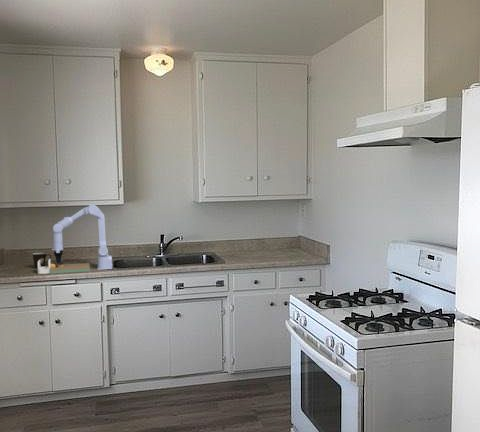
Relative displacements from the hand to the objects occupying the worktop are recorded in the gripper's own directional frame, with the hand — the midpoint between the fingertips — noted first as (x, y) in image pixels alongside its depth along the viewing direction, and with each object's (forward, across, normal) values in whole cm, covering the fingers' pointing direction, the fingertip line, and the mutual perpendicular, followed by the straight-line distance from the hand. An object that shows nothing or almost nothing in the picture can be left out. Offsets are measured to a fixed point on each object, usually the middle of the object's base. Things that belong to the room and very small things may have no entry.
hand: (58, 262), depth 333 cm
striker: (+4, 0, +1) cm, 5 cm away
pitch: (+6, 0, +3) cm, 7 cm away
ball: (+2, 0, -4) cm, 5 cm away
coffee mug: (+6, -20, -12) cm, 24 cm away
